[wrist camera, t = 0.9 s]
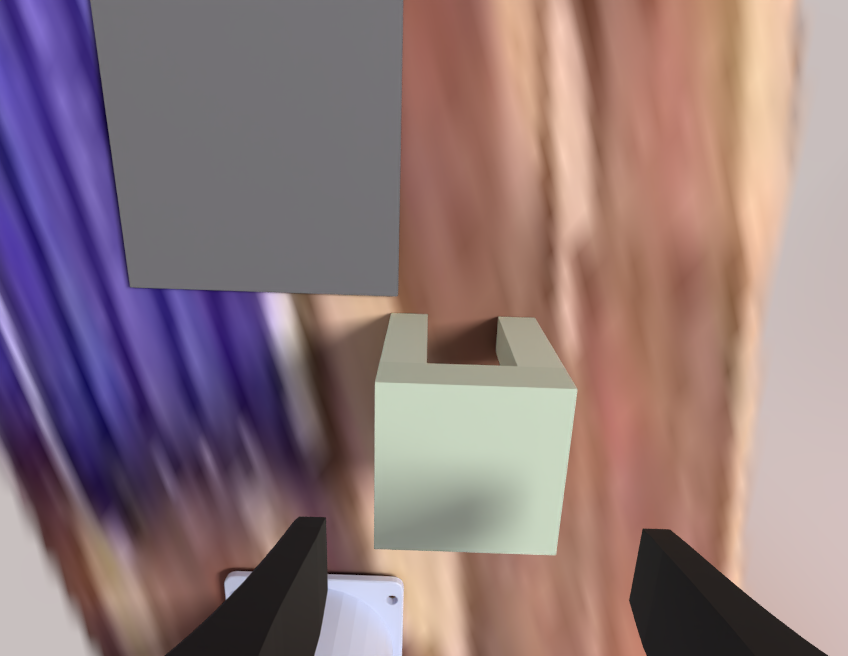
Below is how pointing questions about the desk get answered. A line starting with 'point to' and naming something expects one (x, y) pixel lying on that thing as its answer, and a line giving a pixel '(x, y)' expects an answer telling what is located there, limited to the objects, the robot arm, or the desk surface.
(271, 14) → the felt pad
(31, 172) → the desk surface
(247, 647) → the robot arm
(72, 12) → the desk surface
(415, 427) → the slotted sage cube
